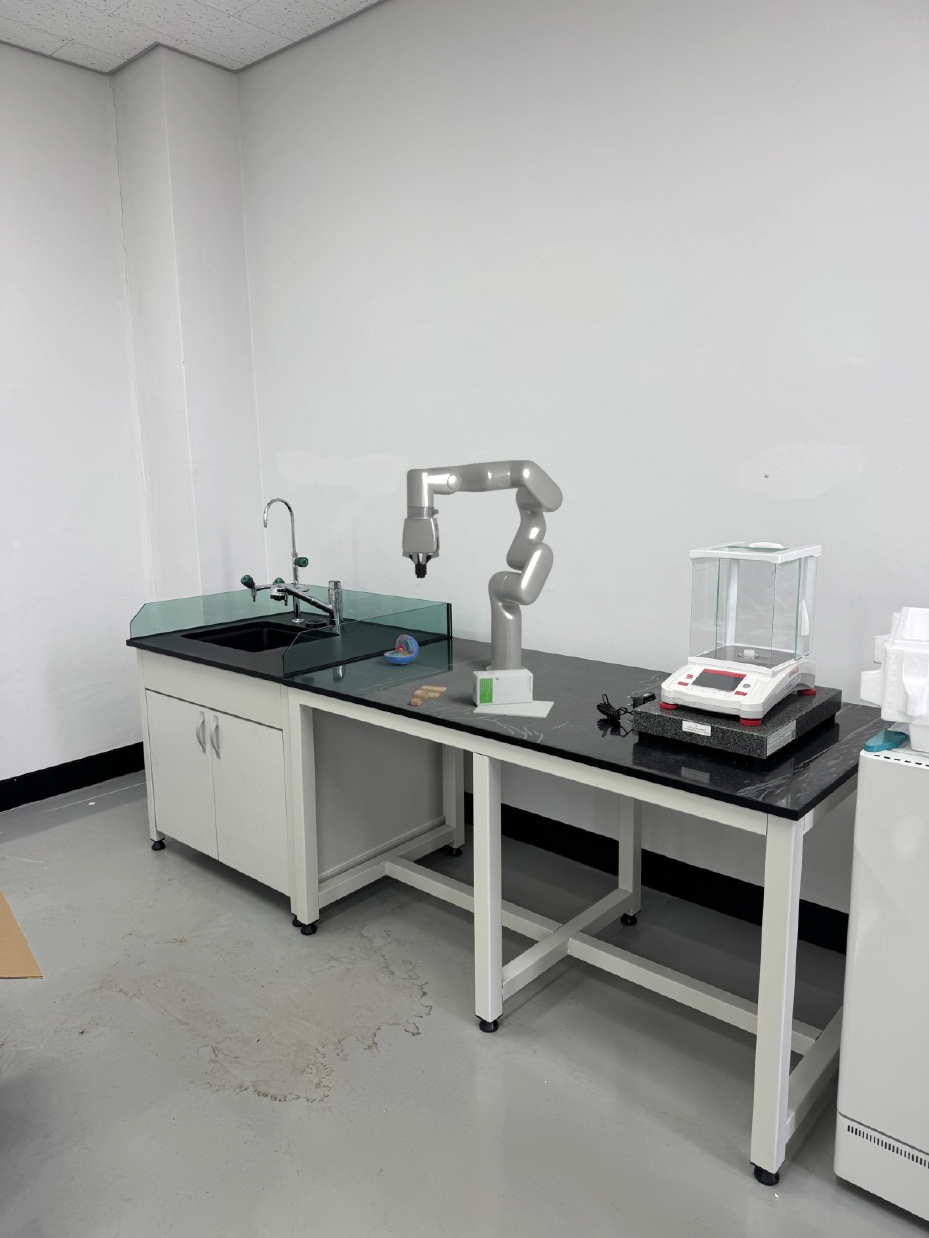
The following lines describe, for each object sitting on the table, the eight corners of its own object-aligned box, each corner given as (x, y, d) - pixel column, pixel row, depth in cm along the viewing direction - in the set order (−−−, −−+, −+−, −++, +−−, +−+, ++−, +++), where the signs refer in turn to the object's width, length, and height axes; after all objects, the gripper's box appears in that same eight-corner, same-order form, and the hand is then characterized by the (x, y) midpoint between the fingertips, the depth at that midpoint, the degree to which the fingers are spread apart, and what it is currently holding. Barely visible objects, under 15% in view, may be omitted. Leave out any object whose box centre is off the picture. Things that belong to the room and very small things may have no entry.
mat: (485, 698, 241) (485, 697, 240) (553, 703, 236) (553, 701, 236) (472, 713, 226) (472, 711, 226) (545, 718, 222) (545, 716, 222)
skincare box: (476, 676, 230) (533, 672, 233) (471, 670, 237) (527, 667, 239) (477, 707, 232) (533, 703, 235) (472, 700, 238) (527, 696, 241)
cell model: (377, 664, 283) (377, 635, 281) (406, 659, 291) (406, 631, 289) (396, 669, 276) (396, 640, 274) (425, 664, 284) (425, 635, 282)
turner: (423, 687, 254) (423, 683, 253) (446, 689, 252) (446, 684, 252) (402, 704, 234) (401, 700, 234) (426, 706, 233) (426, 701, 233)
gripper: (449, 512, 247) (449, 577, 250) (399, 512, 251) (400, 575, 254) (442, 514, 240) (442, 580, 243) (390, 513, 243) (391, 578, 247)
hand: (420, 577), depth 248 cm, fingers closed
